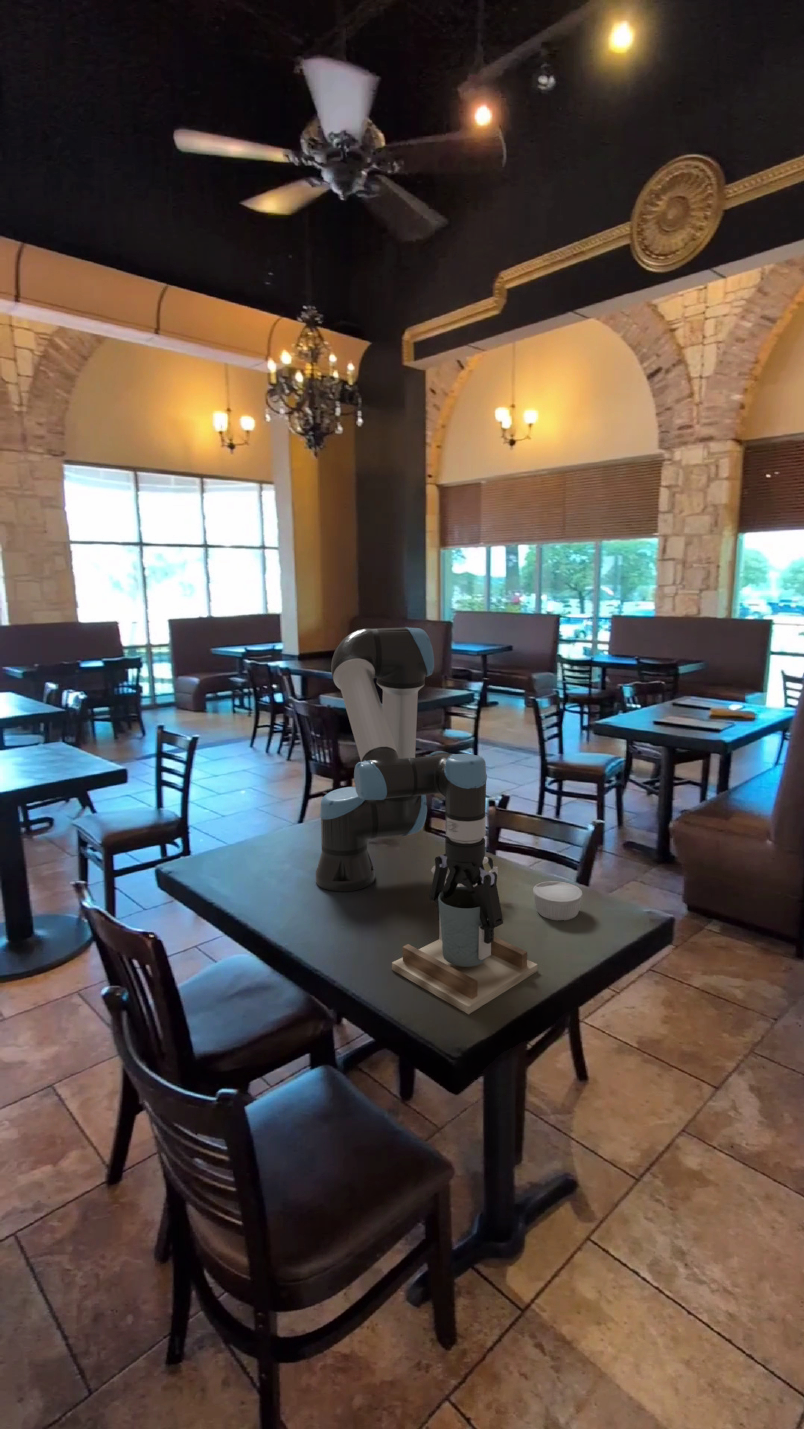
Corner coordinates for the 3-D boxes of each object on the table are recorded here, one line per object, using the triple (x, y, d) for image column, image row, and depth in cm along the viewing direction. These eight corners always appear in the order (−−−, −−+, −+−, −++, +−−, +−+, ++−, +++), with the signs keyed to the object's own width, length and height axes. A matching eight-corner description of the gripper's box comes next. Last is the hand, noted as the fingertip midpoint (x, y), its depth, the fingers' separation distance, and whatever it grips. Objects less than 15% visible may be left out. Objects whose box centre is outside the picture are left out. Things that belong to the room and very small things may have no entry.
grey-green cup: (458, 974, 128) (458, 913, 125) (427, 950, 136) (427, 893, 134) (501, 958, 133) (502, 900, 131) (468, 936, 141) (469, 881, 139)
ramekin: (559, 897, 167) (560, 876, 166) (592, 916, 157) (593, 894, 156) (522, 907, 162) (522, 886, 161) (554, 928, 152) (554, 905, 151)
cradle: (391, 969, 136) (391, 948, 135) (460, 934, 149) (460, 915, 148) (468, 1014, 121) (468, 991, 120) (537, 971, 135) (537, 950, 134)
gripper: (410, 827, 136) (411, 933, 140) (498, 858, 120) (496, 977, 124) (437, 818, 141) (437, 921, 145) (525, 847, 125) (522, 961, 129)
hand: (464, 946), depth 134 cm, fingers closed on grey-green cup, 9 cm apart
